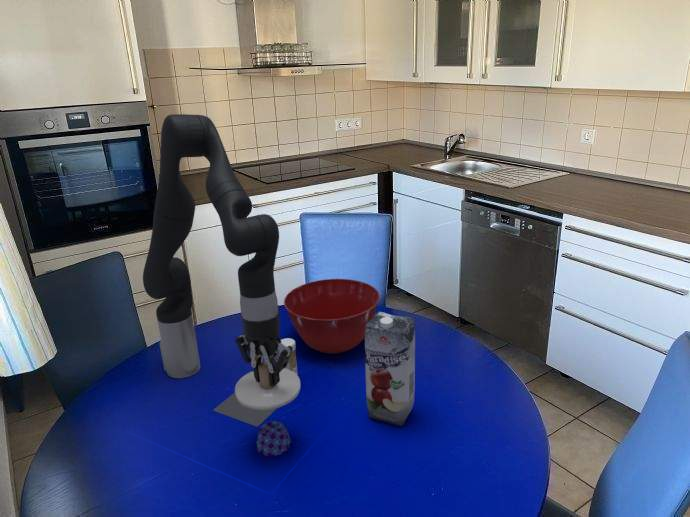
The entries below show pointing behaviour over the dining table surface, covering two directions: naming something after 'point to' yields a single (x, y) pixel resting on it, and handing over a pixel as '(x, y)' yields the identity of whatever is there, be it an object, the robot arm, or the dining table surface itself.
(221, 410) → the mat
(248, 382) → the lid
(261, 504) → the dining table surface
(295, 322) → the mixing bowl
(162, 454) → the dining table surface
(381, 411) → the juice carton
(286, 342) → the sprinkles bottle
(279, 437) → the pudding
